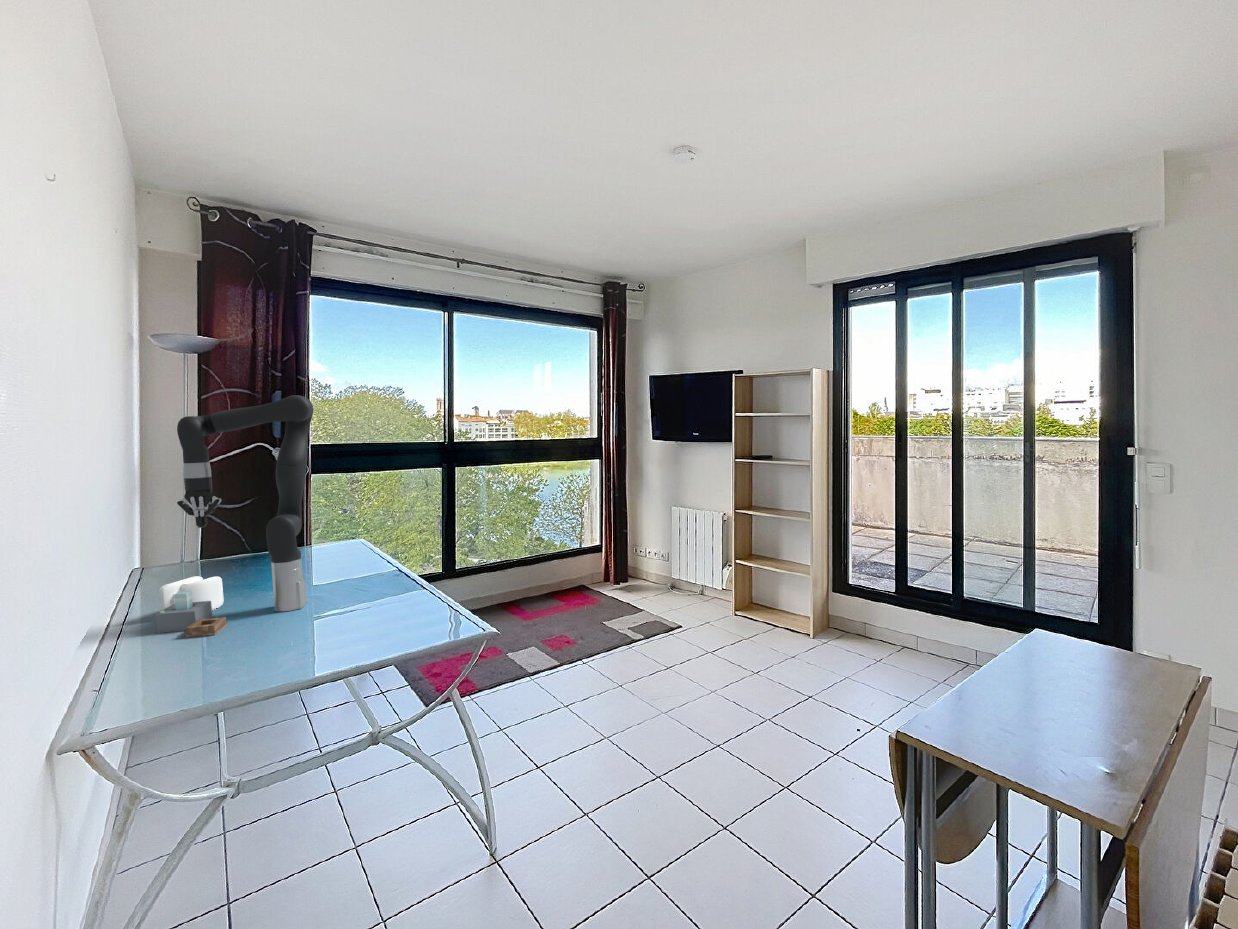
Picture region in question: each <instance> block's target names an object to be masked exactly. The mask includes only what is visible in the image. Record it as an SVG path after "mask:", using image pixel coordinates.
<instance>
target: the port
mask: <svg viewBox="0 0 1238 929" xmlns="http://www.w3.org/2000/svg"><path fill="white" fill-rule="evenodd" d="M192 604H193V607H191V608H190V609H184V610H176V609H175V604H173V605H171V606H169V607H168V608H166V609H164V610H162V611H161V610H160V611H159V612H157V613H156V614H154V615H155V616H154V617H155V626H156V634H160V633H162V634H164V633H172V632H173V633H174V632H180V631H181V632H183V631H184V632H185V628H186V627H188V626H189V625H191V624H192V623H194V622H195V621H197V620H200V619H211V618H213V611H212V607H211V601H202V602H192Z"/></svg>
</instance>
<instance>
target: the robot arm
mask: <svg viewBox="0 0 1238 929" xmlns="http://www.w3.org/2000/svg"><path fill="white" fill-rule="evenodd" d="M313 414H314V405H313V403H312V401H311V400H310V399H309V398H307V397H306V396H303V395H298V394H297V395H293V394H292V395H289V396H287V397H284V398H281V399H278V400H276V401H272V402H269V403H265V404H264V403H263V404H260V405H254V406H253V405H252V406H246V407H240V408H239V407H238V408H233V409H232V408H231V409H225V410H221V411H217V412H214V413H212V414H211V413H210V414H203V415H197V416H196V415H195V416H194V415H191V416H190V415H187V416H184V417H182V418H180V420H179V421H178V422H177V426H176V431H177V436H178V440H179V445H180V446H181V449H182V462H183V468H182V471H183V472H182V475H183V484H184V495H183V498H182V499H180V500H178V501H177V505H178V506H179V507H180V508H181V509H182V510H183V511H184V512H185V513H186V514H187V515H188V516H192V517H193V516H194V518H195V526H196V527H197V528H198V529H200V528H201V529H203V528H206V526H207V525H208V516H209V515H210V514H213V513H214V512H215V511H216V510H217V508H218V507H219V506H220V504H221V503H222V501H223V499H222V498H221V497H220V498H218V497H217V496H215V493H214V491H213V478H212V469H211V468H212V467H211V464H210V453H209V448H208V447H207V445H206V444H205V441H204V437H207V436H210V435H214V434H219V433H226V432H232V431H238V430H243V429H247V428H250V427H255V426H259V425H263V424H267V423H268V424H269V423H277V422H285V431H284V432H285V433H284V437H283V440H282V443H281V445H280V448H279V451H278V454H277V458H276V459H277V460H276V465H275V466H276V467H275V483H276V488H277V492H278V497H279V499H278V507H277V514H276V516H274V517H273V518H271V519H270V520H269V521H268V523H267V524H266V528H265V529H266V530H265V534H266V536H265V537H266V544H267V552H268V554H269V557H270V561H271V562H270V563H271V564H270V566H271V577H272V591H273V593H272V594H273V602H274V604H273V605H274V611H276V612H288V611H289V612H290V611H294V610H301V609H302V608H303V607H304V606H306V604H307V593H306V592H307V591H306V578H305V577H303V567H302V566H303V565H302V564H303V563H302V553H301V552H302V551H301V550H300V549H299V548H298V544H297V536H298V535H299V534H300V532H301V531H302V525H303V519H302V518H303V514H302V512H303V511H302V510H303V506H302V503H303V495H304V490H305V481H306V475H307V467H308V466H307V465H308V450H309V449H308V448H309V447H308V446H309V444H308V442H309V441H308V440H309V432H310V427H311V422H312V419H313ZM210 503H211V505H210V506H209V504H210Z"/></svg>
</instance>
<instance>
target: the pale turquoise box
mask: <svg viewBox="0 0 1238 929" xmlns="http://www.w3.org/2000/svg"><path fill="white" fill-rule="evenodd" d="M174 598H175V599H174V601H175V609H176V610H184V609H190V608H191V607H193V604H192V592H191V591H179V592H178V593H176V594H174Z"/></svg>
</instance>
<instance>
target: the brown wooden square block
mask: <svg viewBox="0 0 1238 929" xmlns="http://www.w3.org/2000/svg"><path fill="white" fill-rule="evenodd" d="M225 626H226V627H227V617H226V616H224V617H212V618H211V619H200V620H197V621H195V622H194V623H192V624H191V625H189V626H188V627H186V628H185V631H184V632H185V638H186V639H187V638H199V637H207V636H206V635H210V636H214V635H213V634H216V633H217V632H218V633H220V632H221V631H222V630H224V629H225V628H226V627H225ZM224 627H225V628H224ZM223 628H224V629H223ZM221 629H222V630H221ZM220 630H221V631H220ZM219 631H220V632H219ZM218 633H217V634H218ZM217 634H216V635H217Z"/></svg>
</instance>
